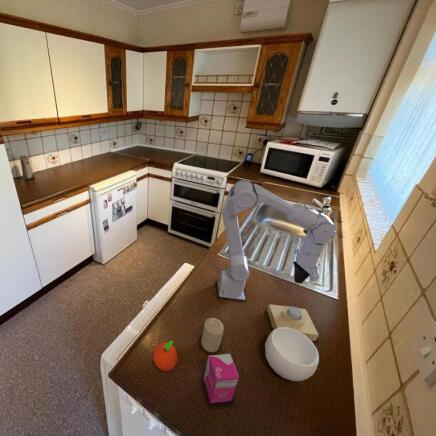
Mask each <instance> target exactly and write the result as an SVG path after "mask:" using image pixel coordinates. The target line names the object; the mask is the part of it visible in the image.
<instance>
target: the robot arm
mask: <svg viewBox="0 0 436 436" xmlns="http://www.w3.org/2000/svg"><path fill="white" fill-rule="evenodd" d="M263 205H264V206H268V207H269V208H272V209H274V210H276V211H278V212H280V213H282V214H284V215H286V218H287V220H288V221H290V222H291V223H293V224H296V225H297V226H299V227H301V228H303V229H305V230H307V232H306V234H305V237H304V240H303V242H302V244H301V247H300V248H296V247H295V248H294V251H293V254H294V255H295V260H294V261H293V262H292V263H293V268H294V269H293V270H294V273H293V274H294V275H293V276H294V277H293V281H294V283H295V284H303V283H304V282H305V281H306V280H307V279H308V278H309V280H310V281H313V282H318V281H319V279H320V274H319V267H320V266H321V263H320V259H321V256H322V255H323V252H324V250H325V247H326V246H327V244H328V243H329V240H330V239H332V238H334V237H335V236H336V235H337V234H338V233H337V231H336V230H337V227H336V225H335V224H334V223H333V221H332V220H331V219H330V218H329V216H327V215H326V214H325V213H322V212H317V211H315V210H313V209H311V207H310V206H309V205H308V204H304V205H303V204H301V203H295V204H292V203H291V202H288V201H287V200H285V199H283V198H281V197H280V196H278V195H276V194H274V193H273V192H271V191H269V190H268V189H266V188H264V187H262V186H261V185H259V184H257V183H252V182H251V181H249V180H248V179H241V180H238V181H237V182H235V183H234V184H233V185H232V186H231V187H230V188H229V191H228V194H227V196H226V198H225V200H224V202H223V204H222V206H221V216H222V221H223V226H224V231H225V238H226V240H227V247H228V252H229V267H228V268H227V269H224V270H220V272H219V276H218V280H217V289H218V290H217V291H218V297H220V298H228V299H233V300H239V301H240V300H241V301H246V296H245V292H244V289H245V286H246V282H247V280H249V278H250V271H249V265H248V257H247V255H246V254H245V253H244V248H243V244H242V238H241V231H240V226H239V220H238V215H239V214H240V213H242V212H244V211H246V210H248V209H251V208H252V207H254V206H255V208H259V207H261V206H263Z"/></svg>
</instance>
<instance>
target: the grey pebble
mask: <svg viewBox="0 0 436 436" xmlns="http://www.w3.org/2000/svg"><path fill="white" fill-rule="evenodd" d="M298 308H299V307H296V306H290V309H289V311H288V315H289V316H290V317H291V318H293V319H295V320H299V319H300V317H301V315H302V312H301V310H300V309H301V308H300V309H298Z"/></svg>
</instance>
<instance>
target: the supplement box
mask: <svg viewBox="0 0 436 436" xmlns="http://www.w3.org/2000/svg"><path fill="white" fill-rule="evenodd" d="M237 370H238V369H237V368H236V365H235V363H234V360H233V357H232V355H231V353H224V354H214V355H208V358H207V363H206V367H205V372H204V375H203V382H204V385H205V389H206V393H207V397H208V401H209V404H219V403H220V404H221V403H229V402H232V400H233V397H234V395H235V391H236V389H237V385H238V382H239V379H240V375H239V373H238V371H237Z"/></svg>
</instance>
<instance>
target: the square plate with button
mask: <svg viewBox="0 0 436 436" xmlns="http://www.w3.org/2000/svg"><path fill="white" fill-rule="evenodd" d="M290 307H291V306H285V305H278V304H270V303H269V304H268V305H267V309H266V311H267V315H268V316H269V317H268V318H269V320H270V324H271V326H272V329H273V330H275V329H277V328H279V327H288V328H292V329H295V330H297V331H299V332H301V333H302V334H304V335H305V336H306V337H308V338H309V339H310V340H311V341H312V342H316V341H317V339H318V337H319V333H318V331H317V329H316V327H315V325H314V323H313V320H312V319H311V317H310V315H309V313H308V311H307V309H306V308H299V307H297V308H298V309H300V310H301V312H302V315H301V317H300V319H299V320H295V319H293V318H291V317H290V316H289V315H288V311H289V309H290ZM273 330H272V331H273Z"/></svg>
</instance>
